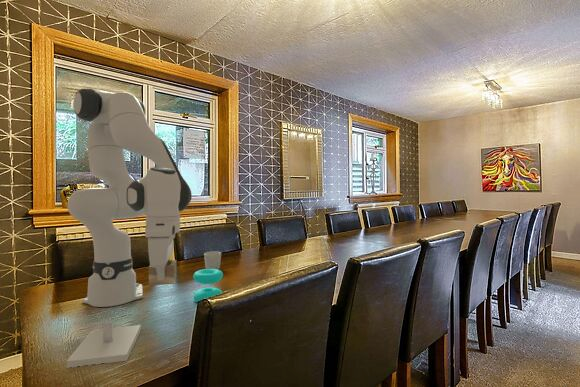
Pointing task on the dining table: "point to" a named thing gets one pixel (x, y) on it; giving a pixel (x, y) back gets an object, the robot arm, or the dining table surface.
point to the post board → (105, 345)
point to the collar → (169, 274)
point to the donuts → (207, 278)
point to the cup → (212, 260)
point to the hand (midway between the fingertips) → (163, 275)
